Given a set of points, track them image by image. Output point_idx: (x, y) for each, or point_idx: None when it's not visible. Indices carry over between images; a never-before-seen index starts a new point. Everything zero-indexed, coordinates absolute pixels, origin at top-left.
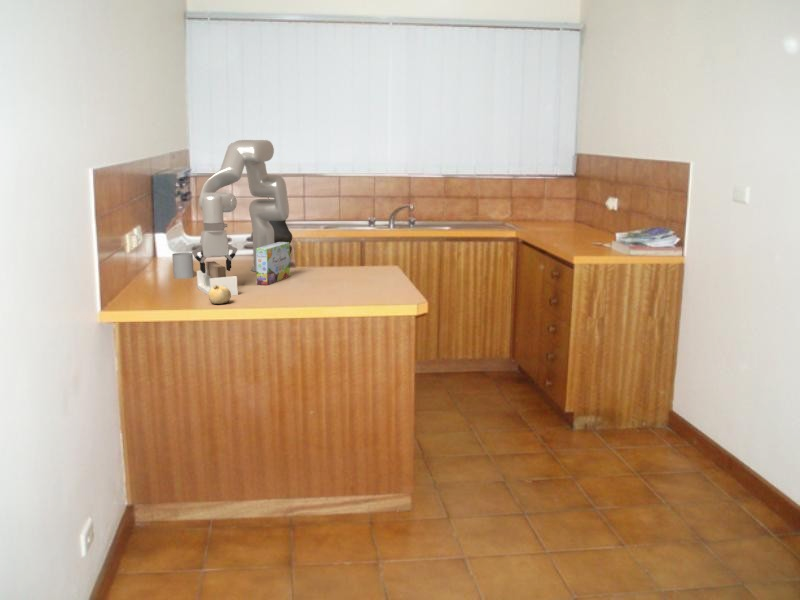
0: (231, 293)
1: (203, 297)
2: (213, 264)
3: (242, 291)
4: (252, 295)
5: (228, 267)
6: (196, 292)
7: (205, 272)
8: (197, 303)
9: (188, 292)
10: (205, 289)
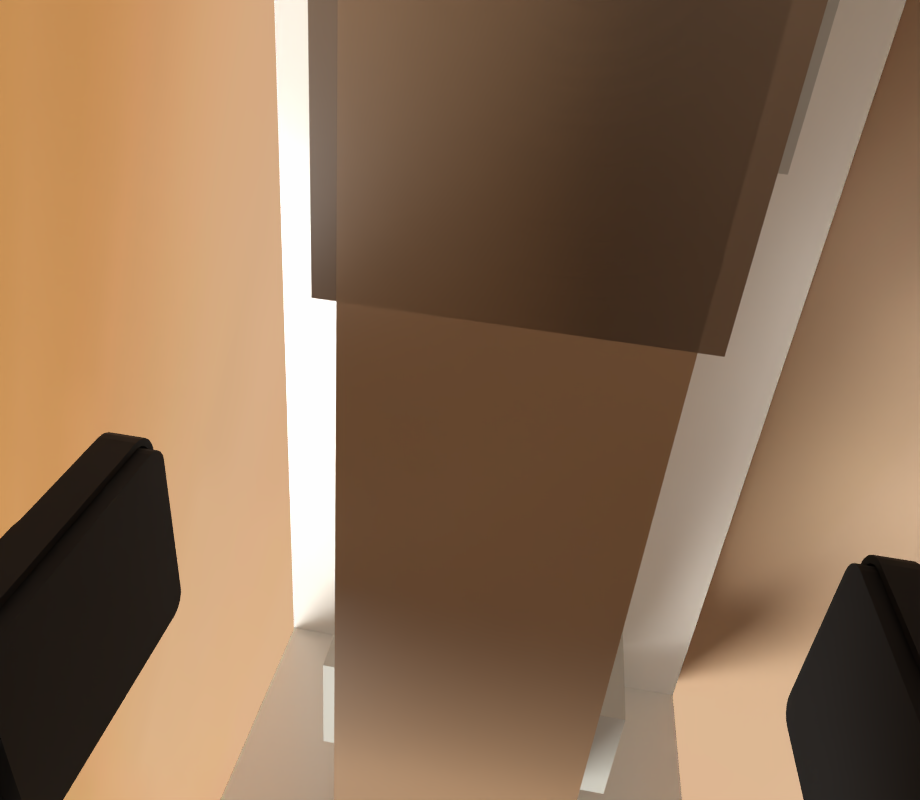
0: None
1: (222, 564)
2: (399, 684)
3: (852, 558)
4: (782, 795)
5: (807, 793)
6: (191, 191)
7: (175, 607)
8: (114, 744)
9: (59, 101)
10: (290, 393)
